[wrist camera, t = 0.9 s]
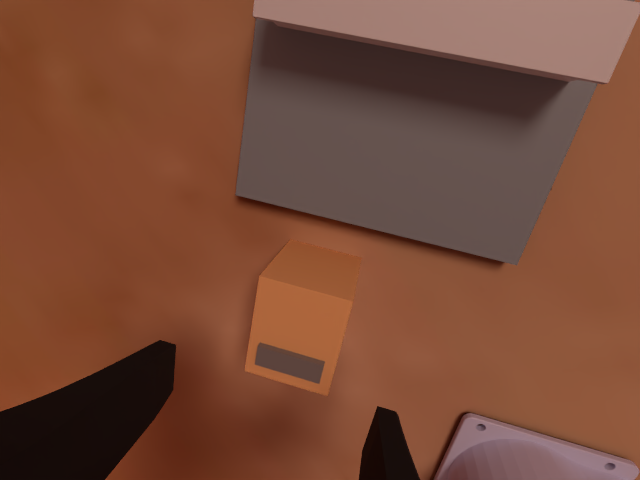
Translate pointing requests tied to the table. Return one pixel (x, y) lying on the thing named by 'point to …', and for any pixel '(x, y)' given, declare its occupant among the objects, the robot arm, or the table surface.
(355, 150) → the board
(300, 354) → the block
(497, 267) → the table surface
